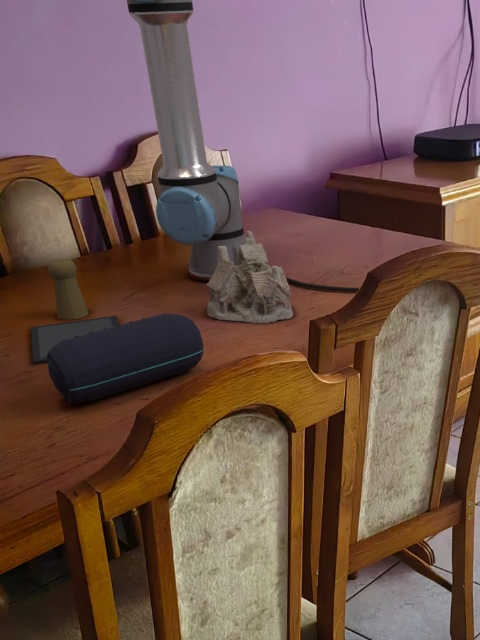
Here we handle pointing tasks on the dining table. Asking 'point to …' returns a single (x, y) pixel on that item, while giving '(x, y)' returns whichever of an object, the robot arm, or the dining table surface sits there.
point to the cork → (67, 290)
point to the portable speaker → (124, 357)
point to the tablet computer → (64, 334)
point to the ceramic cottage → (248, 287)
